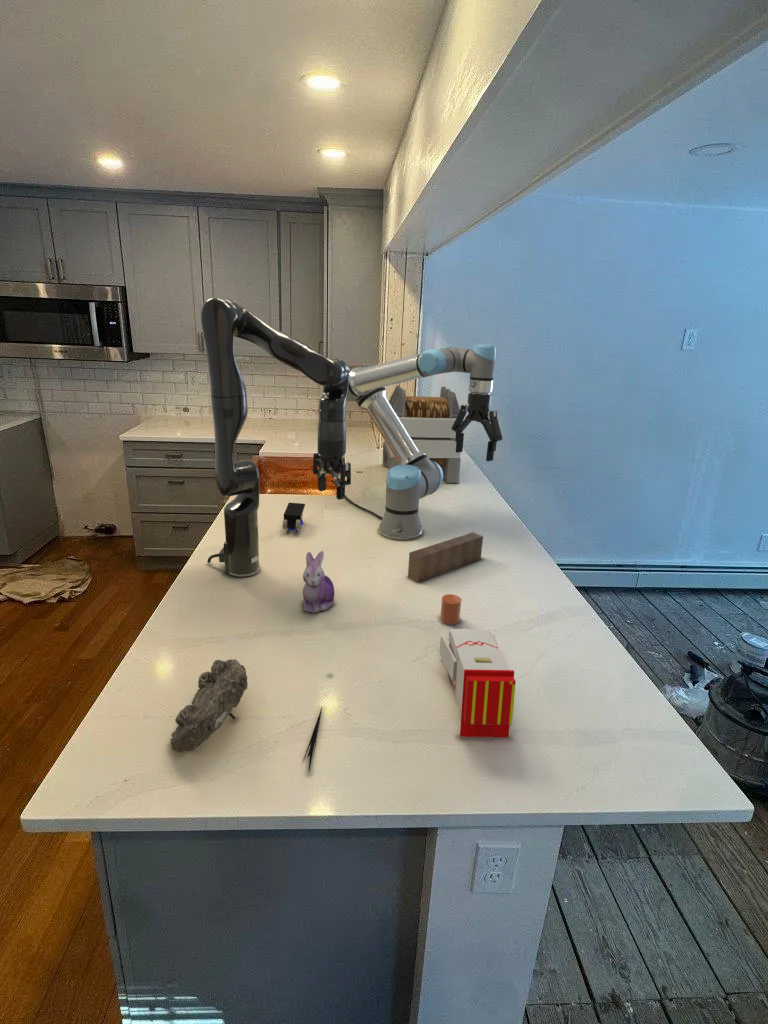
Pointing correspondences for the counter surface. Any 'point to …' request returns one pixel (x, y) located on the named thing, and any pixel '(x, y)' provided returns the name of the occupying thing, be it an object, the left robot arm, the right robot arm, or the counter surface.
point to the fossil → (210, 704)
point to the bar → (444, 556)
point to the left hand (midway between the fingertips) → (331, 494)
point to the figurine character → (293, 517)
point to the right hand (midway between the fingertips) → (473, 456)
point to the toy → (479, 682)
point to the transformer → (428, 429)
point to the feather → (313, 740)
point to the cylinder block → (450, 609)
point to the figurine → (316, 585)
